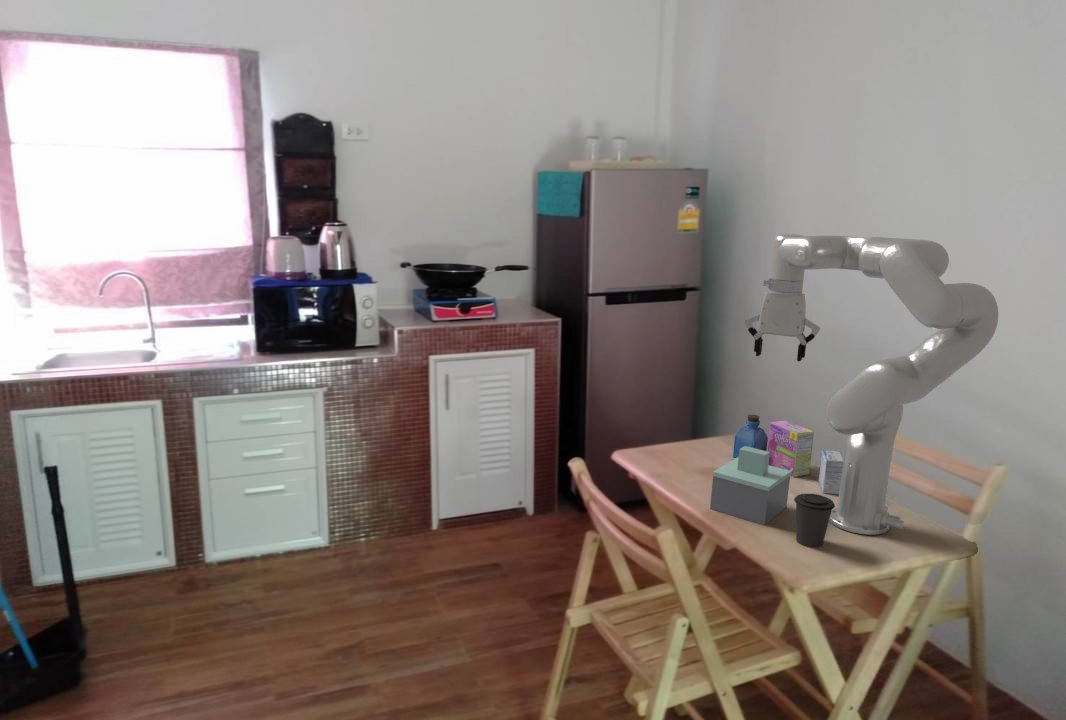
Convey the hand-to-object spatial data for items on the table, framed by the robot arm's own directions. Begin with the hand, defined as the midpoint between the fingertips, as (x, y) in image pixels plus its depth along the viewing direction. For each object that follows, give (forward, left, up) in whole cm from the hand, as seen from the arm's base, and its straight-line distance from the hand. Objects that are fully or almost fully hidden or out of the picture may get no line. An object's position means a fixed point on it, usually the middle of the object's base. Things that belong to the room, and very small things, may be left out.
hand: (778, 357), depth 196 cm
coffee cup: (-20, +26, -33) cm, 46 cm away
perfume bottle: (+11, -15, -33) cm, 38 cm away
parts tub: (-3, +18, -32) cm, 37 cm away
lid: (-3, +18, -25) cm, 31 cm away
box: (0, -14, -33) cm, 36 cm away
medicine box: (-13, -8, -33) cm, 36 cm away
